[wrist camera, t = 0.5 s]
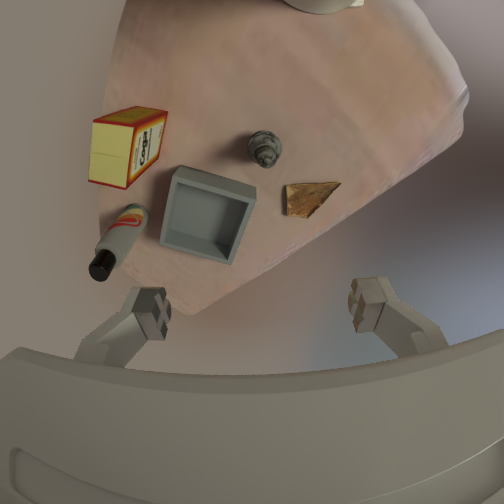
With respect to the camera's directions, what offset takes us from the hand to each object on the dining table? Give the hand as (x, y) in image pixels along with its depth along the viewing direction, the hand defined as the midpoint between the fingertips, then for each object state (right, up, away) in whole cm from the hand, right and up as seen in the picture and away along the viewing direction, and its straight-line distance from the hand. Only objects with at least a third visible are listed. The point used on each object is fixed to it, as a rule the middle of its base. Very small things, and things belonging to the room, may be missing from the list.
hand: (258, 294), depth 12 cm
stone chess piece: (+2, +21, +35) cm, 41 cm away
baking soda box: (-20, +24, +33) cm, 46 cm away
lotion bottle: (-25, +10, +43) cm, 51 cm away
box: (-9, +10, +43) cm, 45 cm away
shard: (+10, +14, +41) cm, 45 cm away
